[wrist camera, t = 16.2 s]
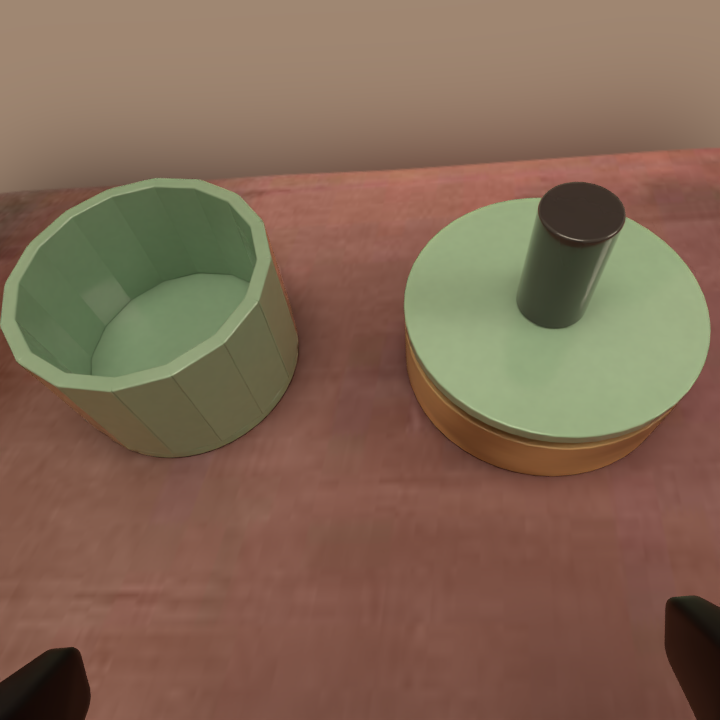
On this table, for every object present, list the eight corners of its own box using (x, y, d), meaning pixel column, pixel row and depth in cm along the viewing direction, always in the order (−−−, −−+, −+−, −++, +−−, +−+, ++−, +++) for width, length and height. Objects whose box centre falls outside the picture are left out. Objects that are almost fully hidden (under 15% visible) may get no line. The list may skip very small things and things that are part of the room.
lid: (730, 269, 24) (817, 150, 19) (646, 508, 19) (732, 438, 14) (475, 187, 28) (489, 69, 23) (353, 368, 23) (334, 272, 18)
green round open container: (339, 318, 28) (320, 225, 23) (207, 500, 24) (144, 441, 18) (180, 247, 32) (130, 151, 26) (41, 395, 28) (-56, 318, 22)
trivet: (700, 309, 27) (730, 269, 24) (620, 529, 22) (647, 507, 19) (471, 229, 31) (476, 186, 28) (360, 400, 26) (353, 367, 23)
